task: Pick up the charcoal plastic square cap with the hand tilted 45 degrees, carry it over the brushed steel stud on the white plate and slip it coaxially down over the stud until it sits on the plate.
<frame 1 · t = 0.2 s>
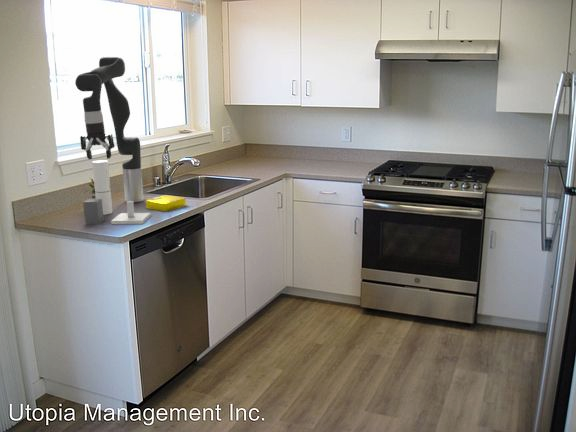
hand: (99, 158, 262), 29 cm above the worktop, tool pointing down, fingers open, 8 cm apart
house plant: (97, 208, 297), on the worktop
cap: (94, 221, 271), on the worktop
cylindrical container: (104, 213, 288), on the worktop
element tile: (166, 207, 298), on the worktop
stud plate: (131, 219, 273), on the worktop
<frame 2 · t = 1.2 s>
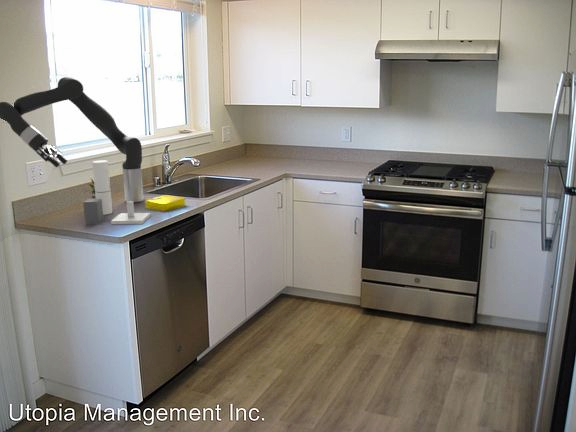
hand: (62, 164, 266), 26 cm above the worktop, tool tilted 45°, fingers open, 8 cm apart
nothing on the worktop moved.
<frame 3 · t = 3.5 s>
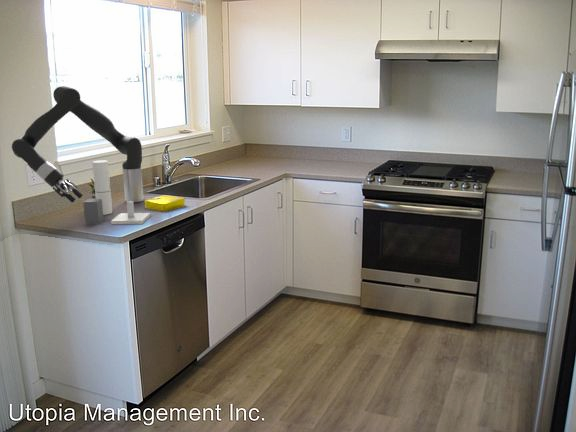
hand: (77, 198, 269), 11 cm above the worktop, tool tilted 45°, fingers open, 8 cm apart
nothing on the worktop moved.
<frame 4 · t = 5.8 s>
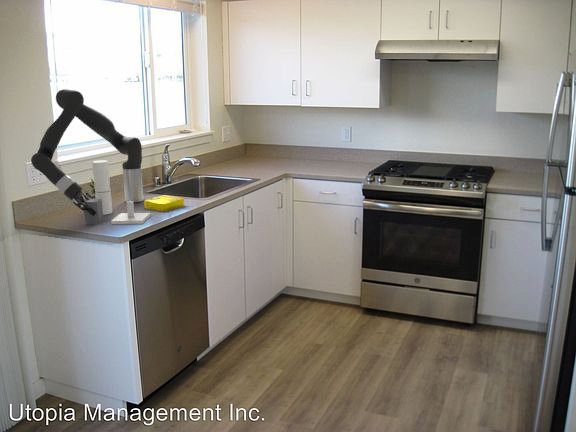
hand: (97, 212, 270), 4 cm above the worktop, tool tilted 45°, fingers closed on cap, 6 cm apart
cap: (94, 221, 271), on the worktop, touching gripper
everything else where it was.
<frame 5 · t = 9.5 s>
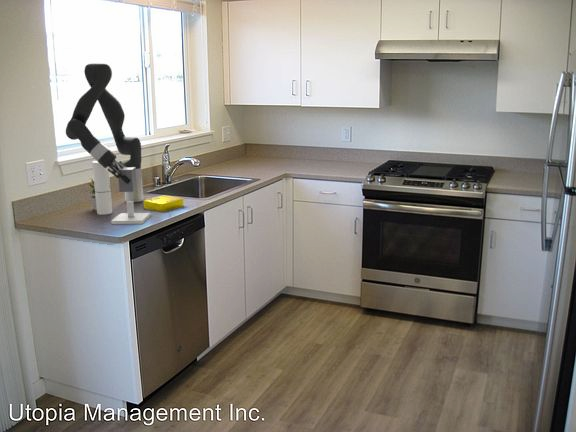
hand: (131, 181, 269), 18 cm above the worktop, tool tilted 45°, fingers closed on cap, 6 cm apart
cap: (128, 190, 270), point 14 cm above the worktop, touching gripper
when the fingers open (7 cm above the worktop, at t = 13.4 s): cap drops 1 cm, resting on stud plate.
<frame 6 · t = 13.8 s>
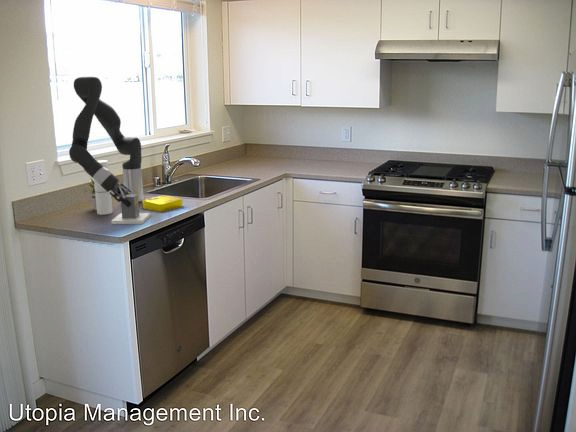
hand: (132, 203, 271), 8 cm above the worktop, tool tilted 45°, fingers open, 8 cm apart
cap: (130, 216, 273), point 1 cm above the worktop, touching stud plate
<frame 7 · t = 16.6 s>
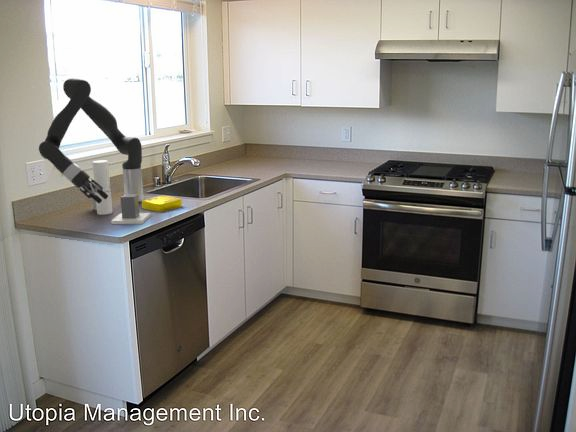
hand: (103, 199, 272), 10 cm above the worktop, tool tilted 45°, fingers open, 8 cm apart
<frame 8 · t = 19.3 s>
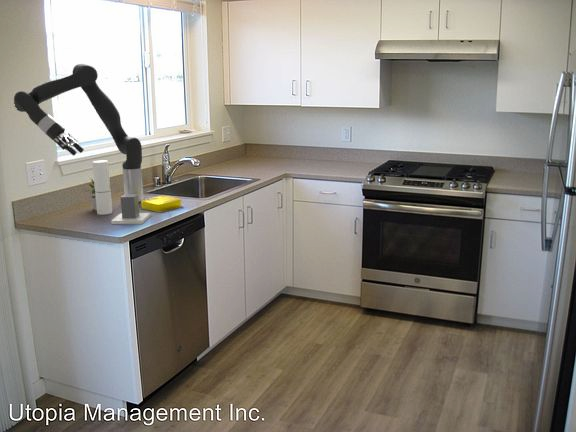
hand: (79, 152, 271), 31 cm above the worktop, tool tilted 45°, fingers open, 8 cm apart
at the end: cap 0.1 cm off-centre on the stud plate, point 1.5 cm above the stud plate's base; cap tilted 0°; the gripper is holding nothing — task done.
